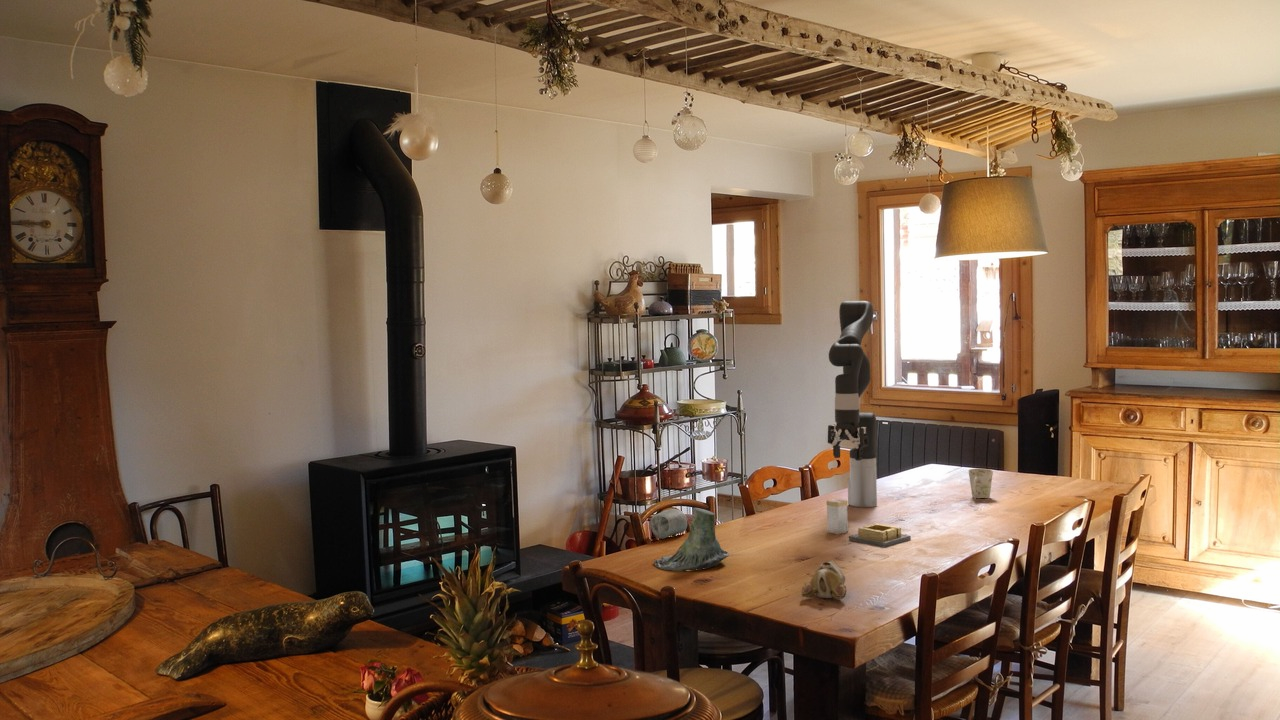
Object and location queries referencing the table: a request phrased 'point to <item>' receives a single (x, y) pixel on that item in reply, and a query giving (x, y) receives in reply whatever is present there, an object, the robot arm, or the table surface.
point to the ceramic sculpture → (826, 582)
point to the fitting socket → (880, 535)
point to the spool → (668, 523)
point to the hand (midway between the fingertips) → (847, 459)
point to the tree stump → (696, 546)
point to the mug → (980, 482)
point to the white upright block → (837, 516)
